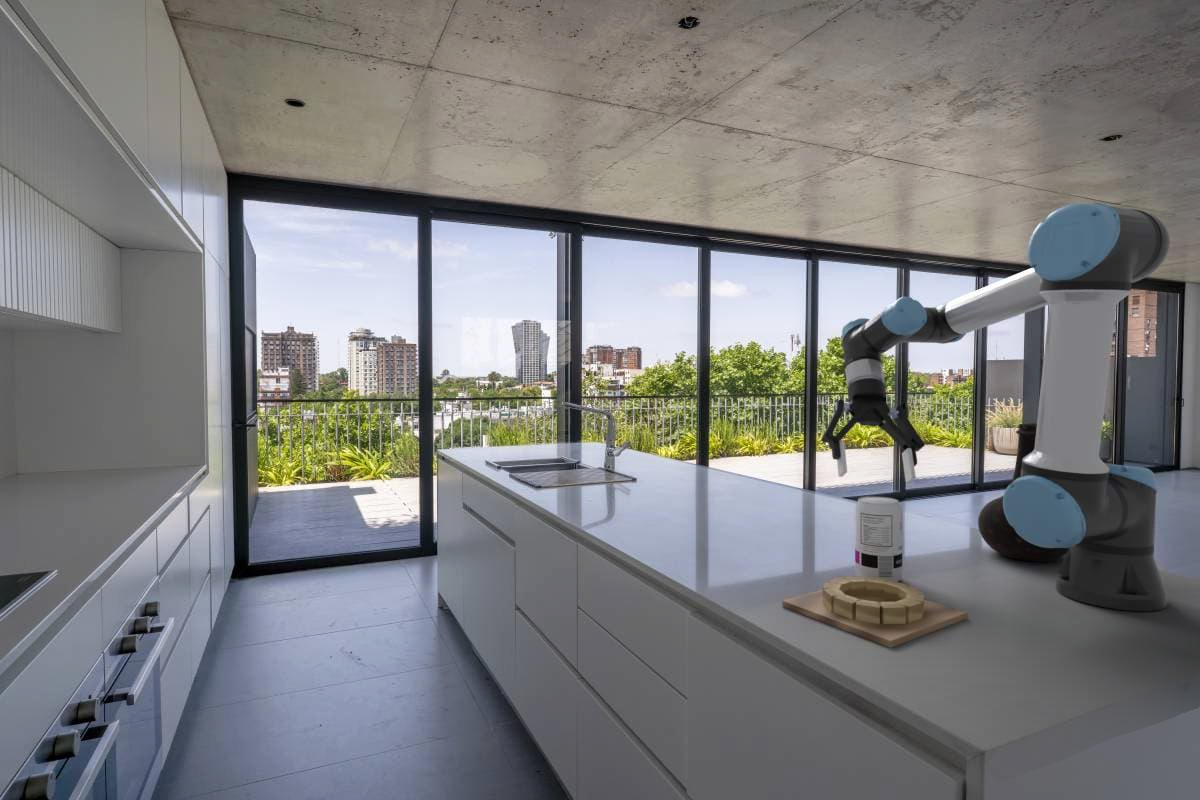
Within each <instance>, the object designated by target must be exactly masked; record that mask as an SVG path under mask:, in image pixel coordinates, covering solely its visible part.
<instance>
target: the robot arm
mask: <svg viewBox="0 0 1200 800" xmlns="http://www.w3.org/2000/svg"><path fill="white" fill-rule="evenodd" d="M1170 245H1171V239H1170V233H1169V231H1168V228H1167V226H1166V225H1165V224H1164V222H1163V221H1162V220H1161V219H1159V218H1158V217H1157V216H1156V215H1154V214H1152V213H1150V212H1147V211H1144V210H1141V209H1140V210H1139V209H1133V208H1125V207H1120V206H1119V207H1118V206H1113V205H1107V204H1105V203H1102V202H1101V203H1100V202H1095V203H1094V202H1092V203H1091V202H1089V203H1080V202H1078V203H1072V204H1068V205H1066V206H1062V207H1060V208H1058V209H1056V210H1054V211H1052V212H1051V213H1050V214H1048V216H1047V217H1045V218H1044V220H1042V221H1041V222H1039V224H1037V226H1036V228H1035V229H1034V230H1033V233H1032V234H1031V236H1030V239H1029V242H1028V245H1027V260H1028V263H1029V266H1030V268H1028V269H1026V270H1023V271H1021V272H1018V273H1015V274H1013V275H1011V276H1008V277H1006V278H1003V279H1001V280H999V281H995V282H994V283H991V284H989V285H985V286H984V287H982V288H980V289H977V290H973V291H971V292H969V293H967V294H964V295H962V296H960V297H957V298H954V299H953V300H950V301H948V302H946V303H942V304H940V305H938V306H934V307H928V306H927V307H924V306H923V305H922V303H920V301H919V300H917V299H914V298H913V297H911V296H902V297H899V298H898V299H896V300H894V301H893V302H891V303H889V304H887V305H886V306H885V307H884V308H883V309H882V310H880V311H879V312H878V313H876V314H875V315H874V316H873V317H871V318H870V319H869V318H866V317H860V318H856V319H855V320H850V321H848V322H847V323H845V325H844V326H843V327H842V329H841V330H842V331H841V339H842V340H841V346H842V350H843V352H842V353H843V361H844V366H845V367H844V369H845V378H846V379H845V380H846V386H847V389H846V391H847V399H848V400H847V401H848V402H845V400H843V399H838V400H837V402H836V403H835V405H834V406H833V415H832V417H831V418H830V421H829V423H828V425H827V427H826V428H825V430H824V433H823V435H822V437H821V439H820V440H821V442H822V443H828V446H829V447H830V448H831V456H832V459H833V460H836V463H837V473H838V477H840V478H843V477H844V476H845V474H847V473H848V466H847V465H848V464H847V457H846V455H847V454H846V446H845V441H841V440H843V438H844V437H845V436H846V434H848V432H850V430H851V429H852V428H853V427H854V426H855V425H856V424H857V423H858V424H860V425H861V426H862V427H863V426H864V427H865V426H869V427H875V428H876V427H878V428H880V429H881V431H885V433H887V434H888V436H889V437H890V438H891V439H892V440H893V441H894V442H895V443H896V444H897V445H898V446H899V447H900V448H901V450H903V451H902V453H901V458H902V464H903V471H904V479H905V483H906V484H910V483H912V482H914V481H915V480H916V479H917V477H916V470H915V466H917V465H918V457H917V452H919V451H920V450H921V449H923V447H925V442H924V441H923V439H922V438H921V436H920V435H919V433H918V431H917V430H916V429H915V428H914V426H913V424H912V423H911V421H910V420H909V418H908V416H907V415H906V414H905V410H904V407H903V405H900V404H899V405H897V406H896V407H889V405H888V402H887V401H888V400H887V398H888V397H887V391H886V385H885V375H884V368H883V363H882V355H883V354H884V353H886V352H887V351H889V350H890V349H893V347H895V346H897V345H898V344H900V343H920V344H921V343H924V344H925V343H926V344H927V343H928V344H929V343H930V344H931V343H933V344H940V345H941V344H942V345H944V344H945V345H946V344H949V343H956V342H958V341H961V340H962V338H964V337H965V336H966V335H967V334H969V333H972V332H974V331H976V330H980V329H983V328H986V327H989V326H991V325H994V324H997V323H1000V322H1003V321H1007V320H1009V319H1011V318H1015V317H1017V316H1020V315H1023V314H1026V313H1029V312H1032V311H1034V310H1037V309H1040V308H1043V307H1046V306H1048V313H1047V324H1046V332H1045V333H1046V334H1045V342H1044V343H1045V344H1044V351H1043V352H1044V353H1043V362H1042V372H1041V381H1040V382H1041V384H1040V392H1039V393H1040V394H1039V403H1038V411H1037V412H1038V413H1037V420H1036V421H1037V422H1036V424H1037V429H1036V439H1035V448H1034V450H1033V452H1031V453H1030V454H1028V455H1027V456H1025V457H1024V458H1023V460H1022V468H1021V477H1020V478H1017V479H1016V480H1015V481H1014V482H1013V483H1012V482H1011V483H1012V484H1011V483H1010V484H1009V485H1008V486H1007V487H1006V489H1005V491H1004V494H1003V495H1004V496H1003V495H1002V496H1003V509H1004V513H1005V516H1006V518H1007V520H1008V522H1009V524H1010V525H1011V526H1012V527H1013V528H1014V529H1015V531H1016V533H1017V534H1018V535H1019V536H1021V537H1022V538H1023V539H1025V540H1026V541H1028V542H1030V543H1032V544H1034V545H1037V546H1040V547H1045V548H1068V550H1067V552H1066V554H1065V555H1064V556H1063V559H1062V562H1061V564H1060V566H1059V569H1058V571H1057V573H1056V575H1055V576H1056V577H1055V589H1056V591H1057V593H1060V594H1061V595H1062V596H1065V597H1067V598H1070V599H1072V600H1074V601H1078V602H1081V603H1084V604H1088V605H1092V606H1098V607H1101V608H1107V609H1114V610H1119V611H1121V610H1122V611H1130V612H1132V611H1133V612H1153V611H1161V610H1163V609H1165V608H1166V607H1167V604H1168V603H1167V598H1168V593H1167V589H1166V586H1165V584H1164V581H1163V579H1162V576H1161V574H1160V570H1159V568H1158V565H1157V563H1156V560H1155V534H1156V533H1155V532H1156V501H1157V493H1158V488H1157V486H1156V475H1155V474H1154V472H1153V471H1152V470H1150V469H1149V468H1146V467H1138V466H1132V465H1131V466H1130V465H1129V466H1128V465H1123V464H1122V465H1121V464H1113V463H1105V462H1104V461H1103V460H1102V459H1101V458H1100V450H1101V449H1100V448H1101V440H1102V432H1103V431H1102V430H1103V422H1104V415H1105V408H1106V407H1105V406H1106V405H1105V404H1106V398H1107V397H1106V396H1107V387H1108V380H1109V379H1108V378H1109V373H1110V372H1109V370H1110V364H1111V363H1110V362H1111V353H1112V347H1113V337H1114V330H1115V329H1114V328H1115V319H1116V311H1117V305H1118V304H1119V303H1120V302H1121V301H1122V300H1124V298H1126V297H1127V296H1129V295H1130V294H1131V289H1132V284H1133V283H1136V282H1139V281H1141V280H1142V279H1145V278H1147V277H1149V276H1151V274H1153V273H1154V272H1155V271H1156V270H1159V267H1161V265H1162V264H1163V263H1164V261H1165V260H1166V258H1167V256H1168V255H1169V254H1168V253H1169V249H1170ZM846 411H848V413H849V414H850V415H851V419H850V420H849V421H848V422H847V423H846V424H845V425H844V426H843V428H842V429H841V430H839V431H838V433H837V434H836V435H833V433H834V431H835V429H836V427H837V426H838V423H839V421H840V418H841V417H842V415H843V413H845V412H846Z"/></svg>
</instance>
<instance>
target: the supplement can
mask: <svg viewBox="0 0 1200 800" xmlns="http://www.w3.org/2000/svg"><path fill="white" fill-rule="evenodd" d="M854 574H855V575H856V577H864V578H865V579H866V577H871V578H879V579H887V581H890V580H892V581H895V582H898V581H900V580H902V579H903V508H902V506H901V505H900V502H899V500H898V499H895V498H892V497H885V496H862V497H859V498H858V499H857V503H856V504H855V505H854Z"/></svg>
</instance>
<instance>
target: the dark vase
mask: <svg viewBox="0 0 1200 800" xmlns="http://www.w3.org/2000/svg"><path fill="white" fill-rule="evenodd" d="M1036 429H1037V422H1036V423H1034V422H1033V423H1019V424H1018V430H1016V432H1015V433H1016V434H1017V435H1018V440H1017V442H1018V443H1017V451H1016V459H1015V465H1014V471H1013V475H1012V480H1011V483H1010V484H1012V483H1013V482H1014V481H1015V480H1016V479H1017V478H1020V477H1021V468H1022V460H1023V458H1024V457H1025V456H1027V455H1028V454H1030V453H1031V452H1033V450H1034V448H1035V439H1036ZM1003 496H1004V494H1003V495H1002V496H1000V497H998V498H995V499H992V500H991V501H989V502H987V503H986V504H985V505H984V506H983V508H981V510H980V513H979V515H978V520H977V525H978V527H977V528H978V530H979V533H980V536H981V538H982V539H983V540H984V541H985V543H986V544H987V545H988V547H990V548H991V549H992V551H993V550H994V551H995V552H996V553H998V554H1000V555H1002V556H1005V557H1008V558H1013V559H1016V560H1021V561H1029V562H1030V561H1031V562H1044V563H1045V562H1052V561H1056V560H1058V559H1061V558H1064V557H1065V554H1066V552H1067V550H1068V548H1045V547H1040V546H1037V545H1034V544H1032V543H1030V542H1028V541H1026V540H1025V539H1023V538H1022V537H1021V536H1019V535H1018V534H1017V533H1016V531H1015V529H1014V528H1013V527H1012V526H1011V525H1010V524H1009V522H1008V520H1007V518H1006V516H1005V513H1004V509H1003Z"/></svg>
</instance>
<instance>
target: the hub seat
mask: <svg viewBox="0 0 1200 800" xmlns="http://www.w3.org/2000/svg"><path fill="white" fill-rule="evenodd" d="M781 602H782V603H781V604H782V605H781V606H782V607H783V608H785V609H788V610H791V611H793V612H796V613H798V614H801V615H804V616H807V617H808V618H812V619H814V620H817V621H819V622H821V623H824V624H827V625H829V626H833V627H835V628H838V629H840V630H843V631H846V632H847V633H850V634H854V635H856V636H858V637H861V638H864V639H866V640H869V641H872V642H873V643H876V644H877V643H878V644H880V645H882V646H885V647H887V648H890V649H891V648H894V647H896V646H900V645H901V644H904V643H907V642H909V641H912V640H915V639H917V638H921V637H922V636H925V635H929V634H930V633H933V632H936V631H938V630H941V629H943V628H946V627H949V626H952V625H954V624H957V623H959V622H961V621H964V619H965V620H967V619H968V611H965V610H961V609H957V608H954V607H951V606H948V605H945V604H941V603H939V602H934V601H931V600H928V599H925V594H924V593H923V592H922V591H920V590H918V589H916V588H915V587H913V586H910V585H909V584H905V583H902V582H895V581H892V580H890V581H887V579H879V578H871V577H866V579H865V578H864V577H858V576H844V577H837V578H834V579H833V578H832V579H830V580H828V581H826V582H824V584H823V587H822V589H819V590H816V591H813V592H808V593H805V594H802V595H798V596H795V597H791V598H787V599H784V600H782V601H781ZM951 624H952V625H951Z"/></svg>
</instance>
